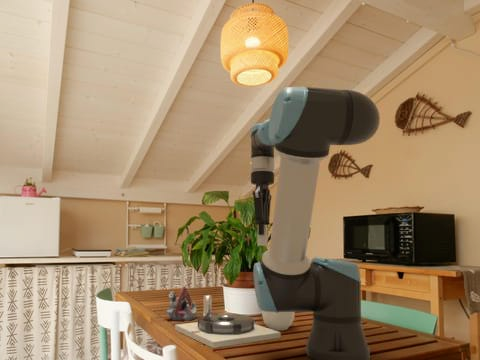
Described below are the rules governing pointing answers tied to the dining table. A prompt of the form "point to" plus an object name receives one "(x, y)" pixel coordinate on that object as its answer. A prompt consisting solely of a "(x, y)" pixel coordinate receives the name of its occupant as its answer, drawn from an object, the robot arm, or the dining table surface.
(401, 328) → the dining table surface
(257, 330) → the base board
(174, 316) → the grey maroon spiky lump
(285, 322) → the lidded jar
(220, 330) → the notched disc with hub
